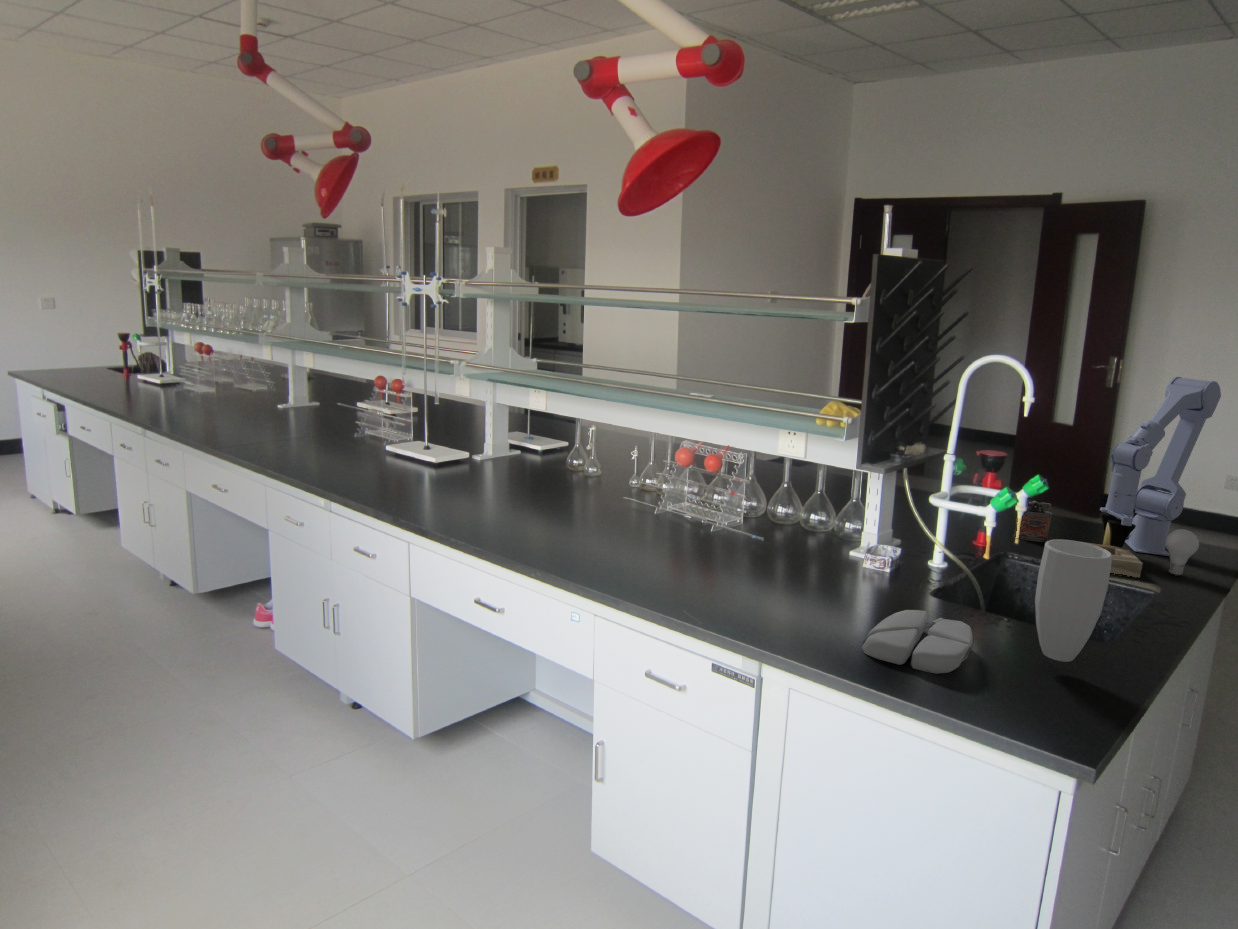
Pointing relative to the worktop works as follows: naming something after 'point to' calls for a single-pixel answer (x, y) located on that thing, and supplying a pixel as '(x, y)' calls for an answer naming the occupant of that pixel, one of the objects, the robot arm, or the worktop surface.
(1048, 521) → the lighter
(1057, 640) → the cup
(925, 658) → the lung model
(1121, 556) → the socket block
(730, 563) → the worktop surface
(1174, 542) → the lightbulb
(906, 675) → the worktop surface
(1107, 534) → the dowel
